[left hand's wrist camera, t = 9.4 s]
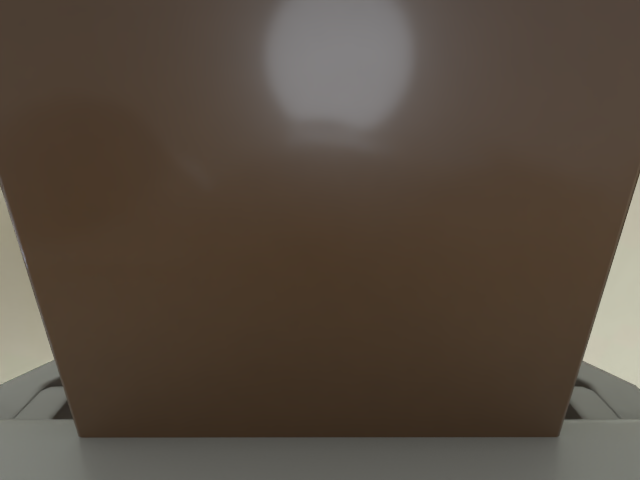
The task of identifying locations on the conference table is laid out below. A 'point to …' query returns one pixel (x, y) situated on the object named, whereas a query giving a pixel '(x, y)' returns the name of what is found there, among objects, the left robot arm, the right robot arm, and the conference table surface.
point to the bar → (319, 208)
